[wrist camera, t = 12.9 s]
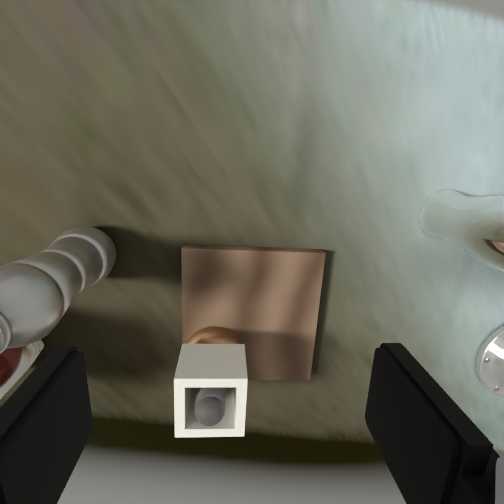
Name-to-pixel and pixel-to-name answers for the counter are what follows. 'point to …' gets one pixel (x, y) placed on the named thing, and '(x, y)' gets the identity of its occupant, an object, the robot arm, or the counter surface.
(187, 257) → the post board
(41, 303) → the plastic bottle
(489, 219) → the beer glass
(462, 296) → the counter surface
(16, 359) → the juice carton
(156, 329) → the counter surface
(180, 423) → the hollow square frame
